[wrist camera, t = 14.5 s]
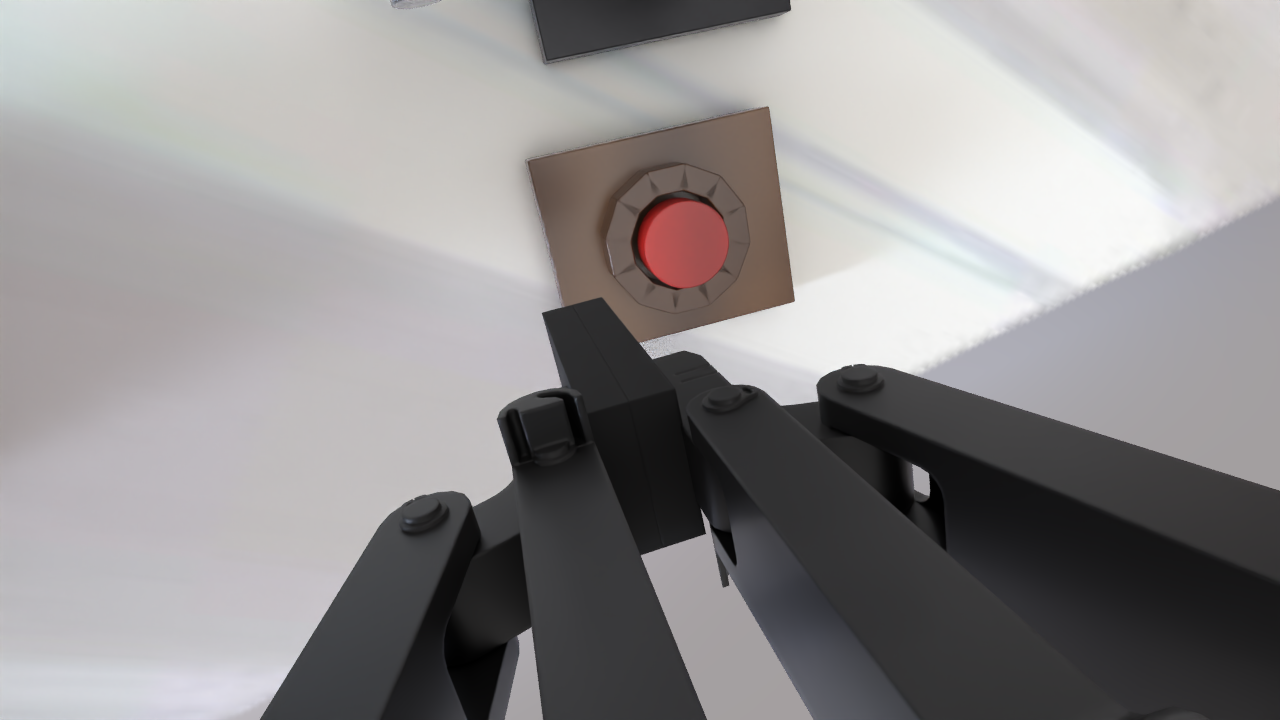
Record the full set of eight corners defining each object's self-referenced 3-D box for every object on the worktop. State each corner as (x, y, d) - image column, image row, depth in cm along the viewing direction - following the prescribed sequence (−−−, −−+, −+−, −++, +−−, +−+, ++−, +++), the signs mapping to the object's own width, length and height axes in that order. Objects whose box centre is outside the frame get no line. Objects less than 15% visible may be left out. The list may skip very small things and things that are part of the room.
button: (646, 290, 33) (654, 297, 32) (629, 208, 32) (636, 211, 30) (723, 270, 34) (735, 276, 32) (710, 188, 32) (722, 191, 31)
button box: (572, 347, 37) (581, 370, 33) (524, 159, 34) (528, 161, 30) (779, 293, 39) (810, 309, 35) (753, 107, 35) (784, 104, 32)
